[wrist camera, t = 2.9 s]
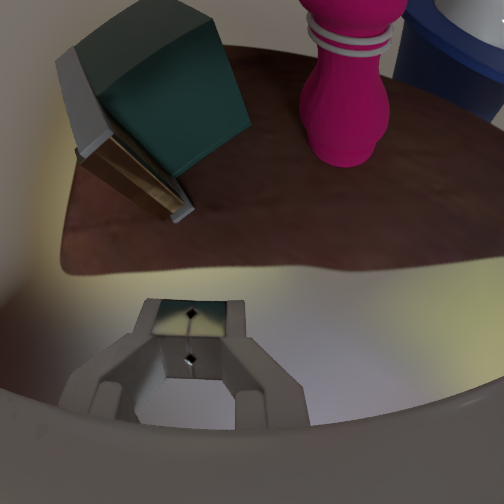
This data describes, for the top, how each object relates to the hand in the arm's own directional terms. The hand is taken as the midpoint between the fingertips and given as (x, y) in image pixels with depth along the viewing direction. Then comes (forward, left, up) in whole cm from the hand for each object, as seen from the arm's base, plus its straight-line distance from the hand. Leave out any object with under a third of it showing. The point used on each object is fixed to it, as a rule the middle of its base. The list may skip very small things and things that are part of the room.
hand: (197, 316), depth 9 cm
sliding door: (+2, -15, -14) cm, 20 cm away
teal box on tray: (-3, -19, -15) cm, 24 cm away
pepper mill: (-15, -9, -15) cm, 22 cm away
